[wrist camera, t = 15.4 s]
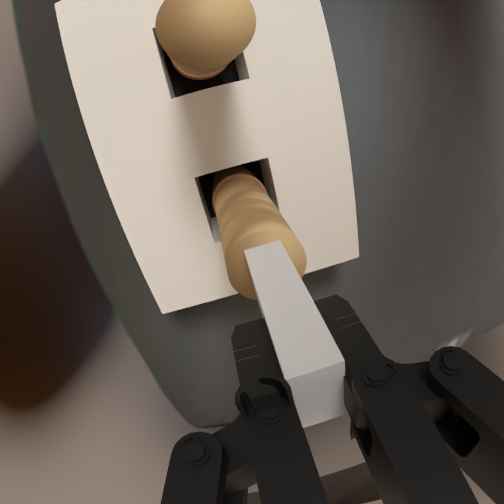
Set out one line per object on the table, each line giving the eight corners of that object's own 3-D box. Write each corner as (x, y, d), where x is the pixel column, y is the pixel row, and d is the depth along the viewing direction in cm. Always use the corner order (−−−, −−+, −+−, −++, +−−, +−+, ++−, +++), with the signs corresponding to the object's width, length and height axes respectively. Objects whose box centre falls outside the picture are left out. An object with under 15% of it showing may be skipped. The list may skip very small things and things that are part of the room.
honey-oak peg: (249, 154, 24) (302, 218, 13) (259, 196, 26) (313, 288, 15) (203, 166, 24) (214, 243, 13) (216, 208, 26) (237, 311, 14)
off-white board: (283, -37, 17) (301, -58, 13) (337, 232, 29) (359, 257, 25) (76, 16, 16) (54, 3, 12) (165, 282, 28) (162, 314, 24)
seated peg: (218, 31, 19) (246, -30, 8) (229, 75, 21) (269, 57, 10) (169, 44, 19) (143, -7, 8) (181, 87, 21) (166, 82, 9)
